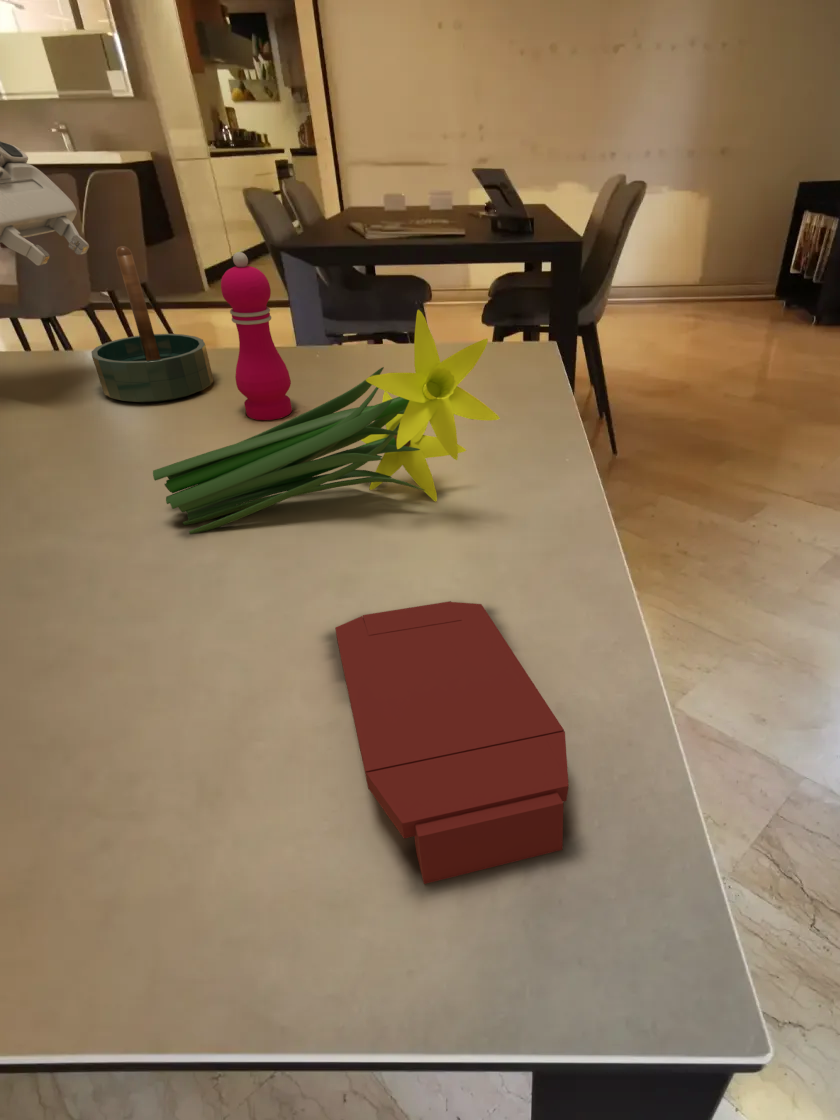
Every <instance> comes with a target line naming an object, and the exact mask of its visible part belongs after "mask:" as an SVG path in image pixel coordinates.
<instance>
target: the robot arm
mask: <svg viewBox="0 0 840 1120" xmlns="http://www.w3.org/2000/svg"><path fill="white" fill-rule="evenodd" d="M28 160H29V157H28V155H27V154H26V153H25V152H24V151H23V150H22V149H21V148H19V147H18V146H16V145H14V144H11V143H7V142H4V141H1V140H0V243H2V244H3V245H4V246H5V247H7V249H10V250H12V251H14V252H16V253H18V254H19V255H22V256H23V257H26V258H27V259H28V260H30V261H31V262H32V263H33V264H35V266H42V265H43V266H44V265H46V264H47V263H48V261H49V259H50V253H49V252H48V251H46V250H45V249H44V248H43V247H42V246H41V245H40V244H35V243H32V242H31V241H29V240H28V239H26V238H30V237H34V236H39V235H43V234H49V233H53V232H56V233H57V234H58V236H60V237H62V236H63V237H64V238H65V239H66V241H67V243H68V245H67V247H68V248H69V249H70V250H71V251H73V252H74V253H75V254H76V255H78V256H80V255H85V254H87V252H88V250H89V249H90V245H89V243H88V242H87V241H86V240H85V239H84V238H83V237H81V235H80V233H79V231H78V230H77V228H76V226H75V225H74V223H73V222H74V220H75V219H76V216H77V213H78V210H77V207H76V205H75V204H74V202H73V201H72V200H71V198H70V197H69V196H68V195H67V194H66V193H65V192H64V190H63V191H62V189H61V188H60V187H59V186H58V185H57V184H56V183H55V182H54V181H52V180H51V179H50V178H49V177H48V176H47V175H46V174H45V173H44V172H43V171H41V170H40V169H39V168H37V167H36V166H34V165H32V164H30V163H28Z"/></svg>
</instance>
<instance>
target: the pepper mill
mask: <svg viewBox="0 0 840 1120" xmlns="http://www.w3.org/2000/svg"><path fill="white" fill-rule="evenodd" d="M232 261H233V264H234V266H233V267H230V268H228V269H227V270H226V271H225V272H224V273H223V275H222V276H221V281H220V291H221V294H222V297H223V299H224V300H225V302H226V303H227V304H228V305H229V306H230V307H231V309H230V310H229V313H230V315H231V322H232V323H234V324H235V326H236V330H237V334H238V345H239V347H238V348H239V349H238V357H237V362H236V367H235V384H236V387H237V390H238V391H239V392H240V394H242V395H243V396H244V397H245V398H246V399H245V400H244V402H243V404H244V408H245V409H244V410H245V414H246V416H247V417H248V418H249V419H253V420H256V421H273V420H279V419H282V418H286V417H287V416H289V415H291V413H293V412H292V411H293V408H292V402H291V397H289V396H288V395H287V393H288V391H289V390H290V388H291V384H292V381H291V377H290V373H289V370H288V367H287V365H286V363H285V361H284V359H283V358H282V356H281V355H280V353H279V351H278V349H277V348H276V345H275V342H274V340H273V337H272V334H271V329H270V321H271V320H272V316H271V313H270V312H271V308H270V307H268V306H267V304H268V302H269V301H270V299H271V296H272V295H271V294H272V292H271V286H270V285H271V284H270V281H269V280H268V278H267V276H266V275H265V273H264V272H263V271H261V270H260V269H258V268H257V267H254V266H250V265H248V264H249V259H248V257H247V254H245V253H244V252H242V251H237V252H234V254H233V255H232Z"/></svg>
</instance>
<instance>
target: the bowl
mask: <svg viewBox="0 0 840 1120" xmlns="http://www.w3.org/2000/svg"><path fill="white" fill-rule="evenodd" d="M154 336H155V340H156V343H157V347H158V351H159V354H160V358H161V359H157V360H148V361H147V360H146V357H145V353H144V350H143V346H142V343H141V339H140V336H139V335H134V336H128V337H123V338H119V339H114V340H111V341H108V342H105V343H103V344H100V345H98V346H96V347H95V348H94V349H92V350H91V358H92V362H93V364H94V367H95V370H96V373H97V376H98V379H99V383H100V385H101V388H102V391H103V394H104V395H105V396H107V397H109V398H111V399H114V400H118V401H121V402H122V401H123V402H131V403H160V402H168V401H173V400H174V401H175V400H179V399H182V398H187V397H189V396H192V395H194V394H196V393H198V392H202V391H204V390H205V389H208V387H210V386H211V385H212V384H213V382H214V376H213V372H212V368H211V363H210V358H209V353H208V350H207V347H206V343H205V341H204V339H202V338H200V337H198V336H194V335H189V334H184V333H183V334H182V333H154Z"/></svg>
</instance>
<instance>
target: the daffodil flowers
mask: <svg viewBox="0 0 840 1120" xmlns="http://www.w3.org/2000/svg"><path fill="white" fill-rule="evenodd" d="M488 342H489V338H483V339H481V340H478V341H476V342H474V343H472V344H469V345H467V346H466V347H464V348H462V349H461V350H459V351H456V352H455V353H453V354H452V355H449V356H448V357H447V358H445V359H443V360H441V359H440V355H439V353H438V348H437V345H436V342H435V339H434V336H433V334H432V332H431V330H430V328H429V325H428V322H427V319H426V317H425V316H424V314H423V312H422V311H421V310H420V309H417V310H416V316H415V326H414V344H413V348H414V349H413V351H414V352H413V356H414V357H413V358H414V360H413V361H414V372H387V373H382V372H383V371H384V369H385V367H384V366H382V367H380V368H379V369H377V370H376V371H375V372H374V373H372V374H371V375H369V376H368V377H367V378H365V379H364V380H363V381H362V382H360V383H359V384H356V385H355V386H354V387H351V388H350V389H349V390H347V391H346V392H344V393H342V394H340V395H338V396H336V397H334V398H332V399H329V400H328V401H325V402H324V403H322V404H320V405H318V406H316V407H313V408H311V409H310V410H308V411H305V412H304V413H302V414H299V415H297V416H294V417H293V418H291V419H288V420H286V421H284V422H281V423H279V424H278V425H276V426H275V425H274V426H272V427H271V428H269V429H266V430H264V431H262V432H261V433H258V434H255V435H253V436H251V437H247V438H246V439H244V440H241V441H239V442H237V443H233V444H229V445H226V446H224V447H220V448H217V449H213V450H211V451H210V450H209V451H207V452H203V453H202V454H201V453H200V454H198V455H195V456H193V457H189V458H187V459H184V460H180V461H177V462H175V463H171V464H168V465H165V466H162V467H160V468H156V469H153V470H152V477H153V480H154V481H159V480H162V479H164V478H167V480H165V483H164V484H163V485H164V487H165V488H166V489H167V491H169V493H171V494H169V495H167V496H165V503H166V505H169V504H170V507H171V509H172V510H174V509H177V508H178V509H179V511H180V512H181V513H184V512H186V514H187V520H184V521H182V525H184V526H189V525H193V524H197V523H203V522H208V521H210V520H213V519H216V518H219V519H217V520H214V521H212V522H209V523H206V524H204V525H201V526H199V527H196V528H194V529H191V530H188V534H190V535H192V534H197V533H203V532H206V531H211V530H214V529H217V528H220V527H222V526H225V525H227V524H230V523H233V522H236V521H237V520H240V519H242V518H245V517H247V516H249V515H252V514H255V513H257V512H259V511H261V510H264V509H266V508H269V507H271V506H273V505H275V504H279V503H280V502H283V501H285V500H287V499H290V498H292V497H297V496H298V497H299V496H302V495H306V494H307V495H308V494H313V493H316V492H322V491H325V490H330V489H336V488H341V487H349V486H356V485H363V484H368V483H370V485H369V487H368V490H370V491H373V490H375V489H377V487H379V486H380V485H382V484H383V483H391V484H396V485H400V486H401V485H403V486H406V487H410V488H413V489H417V490H421V491H423V492H424V493H425V494H426V495H427V496H428V497H429V498H431V500H432V501H434V502H435V503H436V502H437V500H438V494H437V490H436V486H435V481H434V477H433V474H432V472H431V469H430V467H429V464H428V462H427V459H430V458H431V459H432V458H438V457H439V458H440V457H447V456H450V457H451V458H452V459H453V460H455V461H458V459H459V458H458V457H459V454H462V453H465V452H466V451H467V449H466V448H465V447H463V446H462V445H460V444H459V443H458V435H457V426H456V420H455V416H459V417H462V418H463V419H464V418H465V419H468V420H475V421H488V422H490V421H498V420H500V419H501V417H500V416H499V415H498V414H497V413H496V412H495V411H494V410H492V409H491V408H490V407H489V406H487V404H485V403H484V402H483V401H481V400H480V399H479V398H477V397H476V396H474V395H473V394H471V393H469V392H468V391H467V390H465V389H464V388H462V387H460V386H459V384H460V383H461V382H462V381H463V380H464V379H465V378H466V377H467V376H468V374H470V372H471V371H472V370H473V369H474V368H475V366H476V364H477V363H478V362H479V360H480V358H481V357H482V355H483V353H484V352H485V350H486V347H487V345H488ZM372 386H374V387H375V388H374V389H373V391H372V392H371V393H370V394H369V395H368V397H367V398H366V399H364V401H363V402H362V403H361V404H360V405H359V406H358V407H351V408H348V409H347V408H346V407H348V406H349V405H352V404H353V403H355V402H356V401H357V400H358V399H360V398H361V397H362V396H363V395H365V393H366V392H367V391H368V390H369V389H370V388H371V387H372ZM379 389H380V390H381V391H384V392H383V395H382V401H381V402H380V403H378V404H377V403H376V404H374V405H369V404H370V403H371V402H372V401H373V398H374V397H375V395H376V394H377V392H378V390H379ZM390 394H391V395H393V396H396V397H394V398H392V396H391V395H390ZM344 408H346V409H344ZM342 409H344V410H342ZM429 424H430V426H431V429H432V430H433V433H434V435H435V436H433V435H428V434H427V435H426V434H425V433H426V430H427V427H428V425H429ZM383 427H385V428H383ZM360 441H361V442H363V444H362V445H359V446H356V447H353V448H349V449H345V450H342V451H339V450H341V449H344V448H346V447H349V446H351V445H353V444H355V443H356V444H357V443H358V442H360ZM336 451H338V452H336ZM334 452H336V453H334ZM331 453H332V454H331ZM328 454H329V455H328ZM380 454H381V455H380ZM382 454H383V455H382ZM377 461H379V463H378V464H377V467H376V469H375V471H373V470H366V469H359V468H361V467H363V466H364V465H366V464H367V463H368V462H377ZM341 467H342V468H341ZM401 467H403V468H404V470H405V471H406V472H407V474H408V475H409V476H410V477H411V479H412V480H413V481H414V483H416V485H417V486H416V485H414V484H412V483H409V482H406V481H403V480H400V479H397V478H393V475H394V474H396V473H397V472H398V470H400V469H401ZM339 468H340V469H339ZM336 469H338V470H336ZM333 470H335V471H333ZM330 471H333V472H330ZM327 472H330V473H327ZM325 473H326V474H325ZM352 478H353V479H352ZM340 480H341V481H340ZM228 514H230V515H228ZM223 516H224V517H223ZM220 517H221V518H220Z"/></svg>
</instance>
